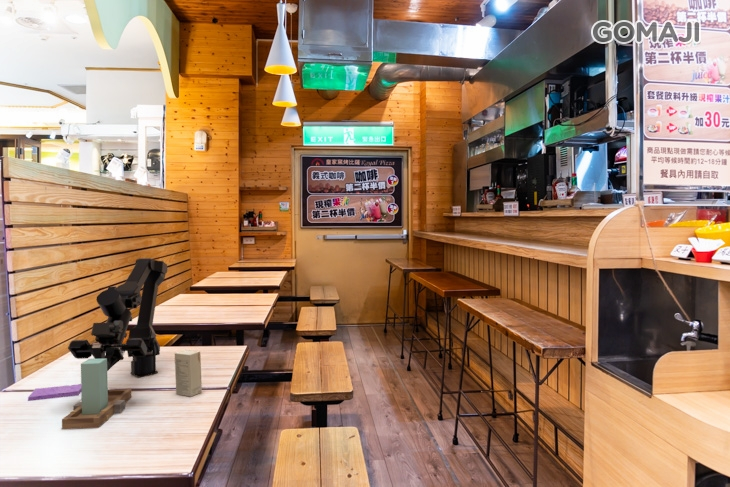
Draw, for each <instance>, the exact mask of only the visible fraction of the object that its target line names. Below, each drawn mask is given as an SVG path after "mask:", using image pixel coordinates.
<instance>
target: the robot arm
mask: <svg viewBox="0 0 730 487" xmlns="http://www.w3.org/2000/svg"><path fill="white" fill-rule="evenodd" d="M167 273H168V265H167V263H165V261H164V260H156V259H154V258H149V257H148V258H147V257H146V258H145V257H142V258H137V259H136V260H135V265H134V266H133V269H132V270H131V272H130V274H129V275H128V277H127V278H126V280H125V282H123V283H122V284H120V285H118V286H108V288H107V289H105V290H103V291H102V292H100V293H99V294H98V295H97V296H96V299H95V300H96V302H97V304H98V306H99V308H100V309H101V311H102V313H103V315H104V316H105V317H107V319H106V322H93V323H92V326H91V328H92V329H91V334H90V336H94V337H95V338H94V341H95V342H92V344H91V343H90V341H89V340H88V339H72V340H71V341H70V342H69V344H68V347H67V349H68V351H69V352H70V353H71V355H72V356H73V358H75V359H78V360H80V359H81V360H82V359H90V357H92V356H93V359H103V358H107V372H108V371H109V370H110V369H112V368H113V367H114V366H115V365H116V364H117V363H118V362H120V361H123V360H124V359H125V357H124V354H125V353H126V352H127V357H128V358H132V360H131V361H130V366H131V367H130V374H131V375H133V376H135V377H136V378H142V377H147V376H150V375H155V374H158V373H159V371H158V370H157V367H156V366H157V364H156V362H157V361H156V360H157V357H156V356H159V355H161V354H160V352H161V345H160V343H159V342H158V340H157V334H156V332H155V330H154V327H153V323H154V317H155V312H156V304H157V298H158V297H157V296H158V290H159V287H160V285H161V284H162V283H163V282H164V280H165V279H166V274H167ZM141 290H142V292H141ZM138 307H139V309H138V310H139V311H138V316H137V322H136V325H135V326H134V327H131V328H130V329H129V334H128V333H127V331H128V327H129V323H130V322H132V321H133V317H132V315H133V314H132V312H131V310H130V309H137V308H138ZM127 337H128V338H127ZM126 338H127V339H126ZM125 339H126V342H125V343H123V342H124V340H125Z"/></svg>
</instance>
